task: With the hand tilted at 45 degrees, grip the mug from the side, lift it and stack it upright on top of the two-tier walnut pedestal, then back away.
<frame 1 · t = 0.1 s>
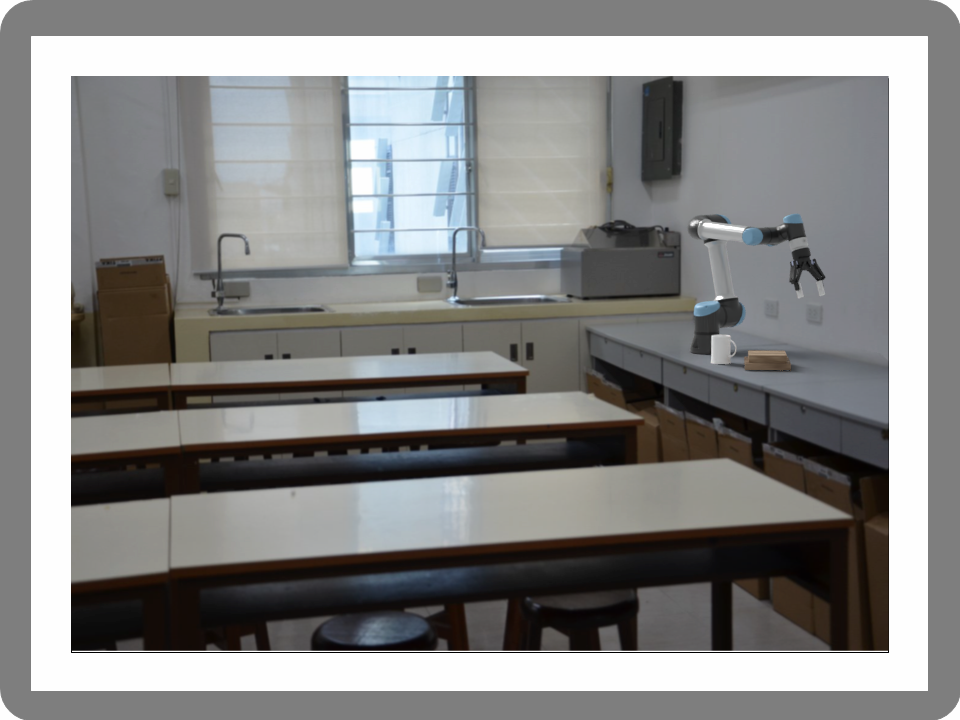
hand: (811, 296, 410), 28 cm above the table, tool tilted 20°, fingers open, 13 cm apart
mug: (723, 363, 414), on the table
pedestal: (766, 367, 401), on the table
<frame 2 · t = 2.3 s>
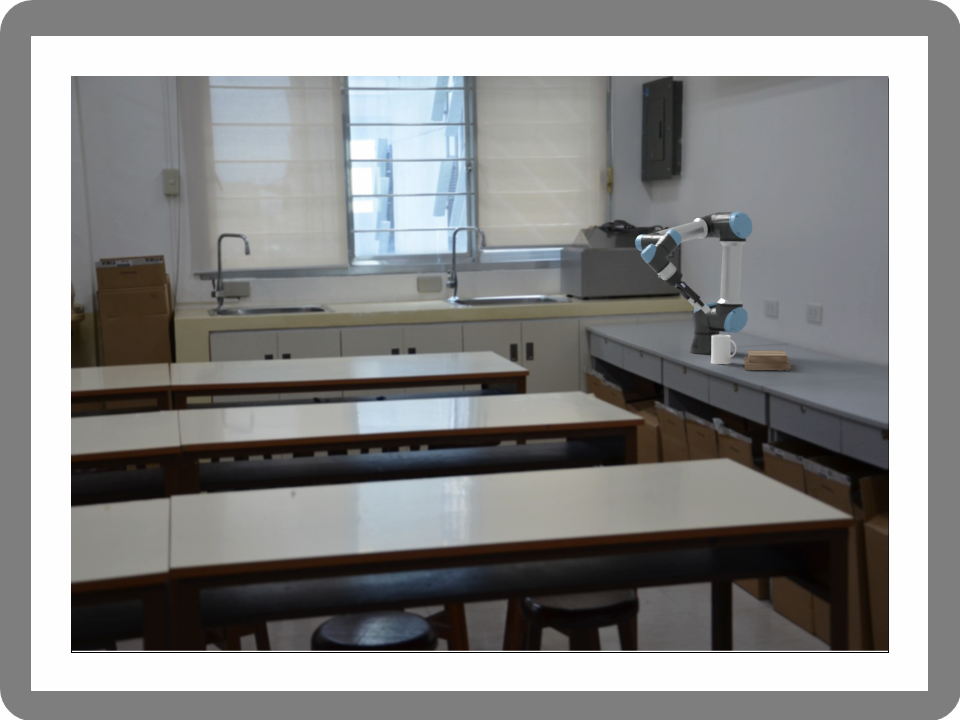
hand: (704, 310, 411), 23 cm above the table, tool tilted 45°, fingers open, 13 cm apart
nothing on the table moved.
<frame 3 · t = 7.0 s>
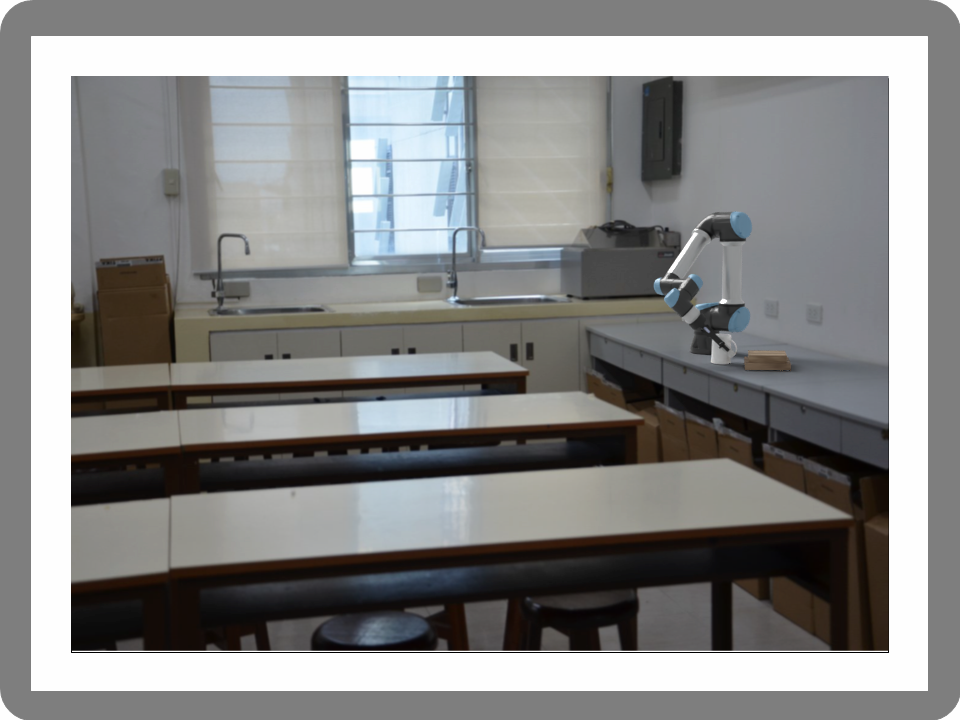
hand: (731, 354, 413), 4 cm above the table, tool tilted 45°, fingers closed on mug, 9 cm apart
mug: (723, 363, 414), on the table, touching gripper
when the fingers open (11 cm above the table, at t = 12.5 s): mug drops 2 cm, resting on pedestal.
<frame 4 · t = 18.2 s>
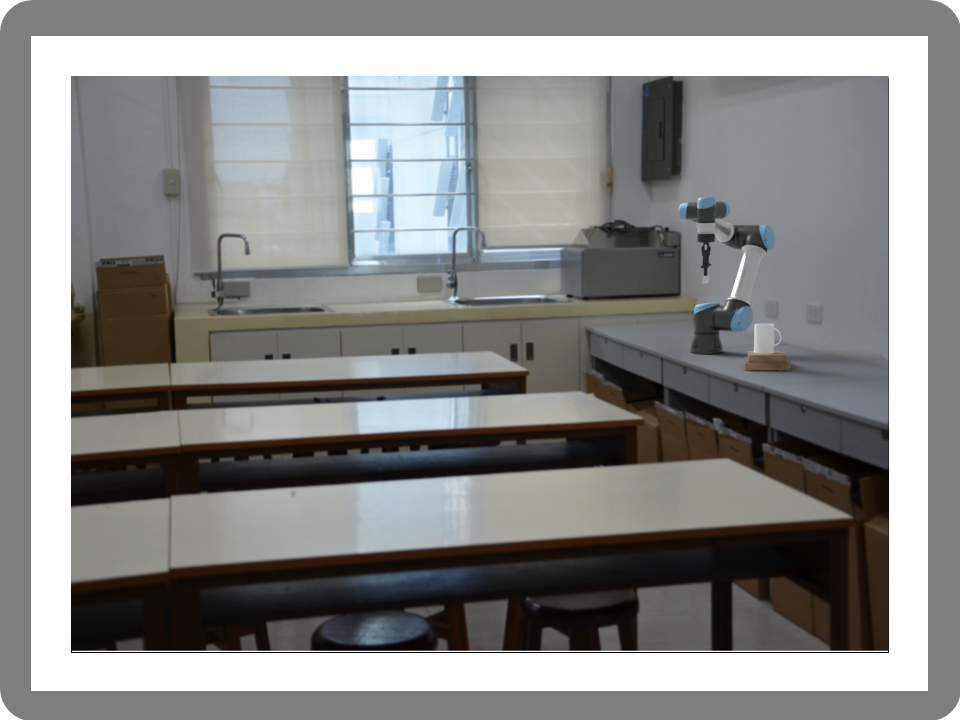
hand: (705, 282, 416), 35 cm above the table, tool pointing down, fingers open, 13 cm apart
mug: (767, 353, 400), point 6 cm above the table, touching pedestal
at the end: mug inside the target area on the pedestal (0.1 cm from its centre), point 5.8 cm above the pedestal's base; mug tilted 0°; the gripper is holding nothing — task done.
